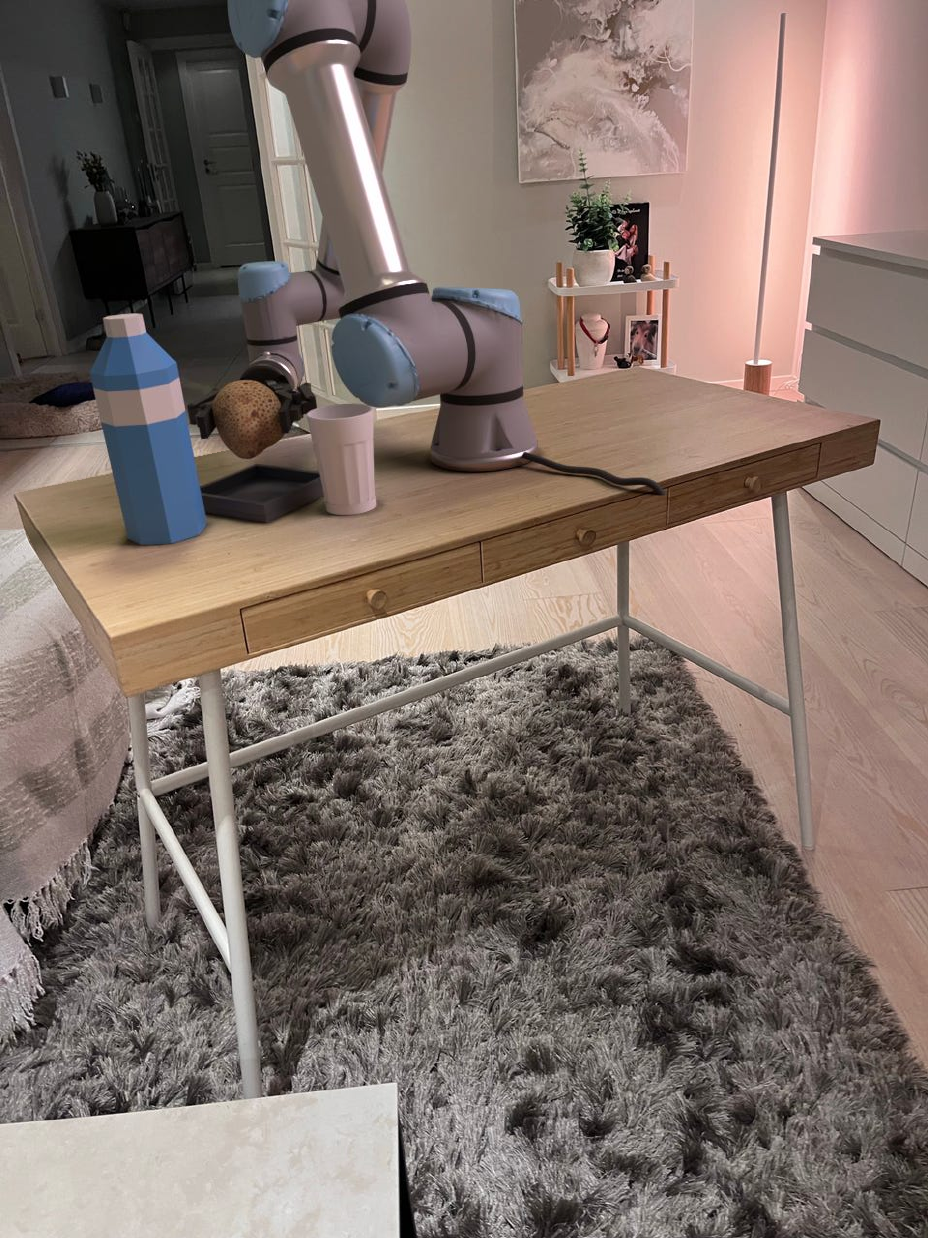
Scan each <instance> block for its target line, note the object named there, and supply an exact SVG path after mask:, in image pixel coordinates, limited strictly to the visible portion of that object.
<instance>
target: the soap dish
mask: <svg viewBox="0 0 928 1238" xmlns="http://www.w3.org/2000/svg"><path fill="white" fill-rule="evenodd" d="M200 490H201V495H202V501H203V506H204V511H205V514H212V515H218V516H222V517H223V516H224V517H228V518H229V517H230V518H235V519H241V520H246V521H247V520H248V521H252V522H253V521H254V522H260V523H267V524H268V523H270V522H272V521H274V520H276V519H278V518H280V517H282V516H284V515H286V514H288V513H290V512H292V511H295V510H296V509H299V508H300V507H303V506H305V505H307V504H309V503H311V502H313V501H315V500H317V499H320V498H323V497H324V493H323V488H322V483H321V479H320V474H319V470H310V469H301V468H293V467H287V466H286V467H285V466H278V465H269V464H262V463H255V464H252V465H250V466H249V465H248V466H247V467H245V468H242V469H240V470H237V471H235V472H234V471H233V472H231V473H230V474H227V475H225V476H222V477H219V478H217V479H215V480H211V481H210V482H207V483H204V484H202V485H200Z"/></svg>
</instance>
